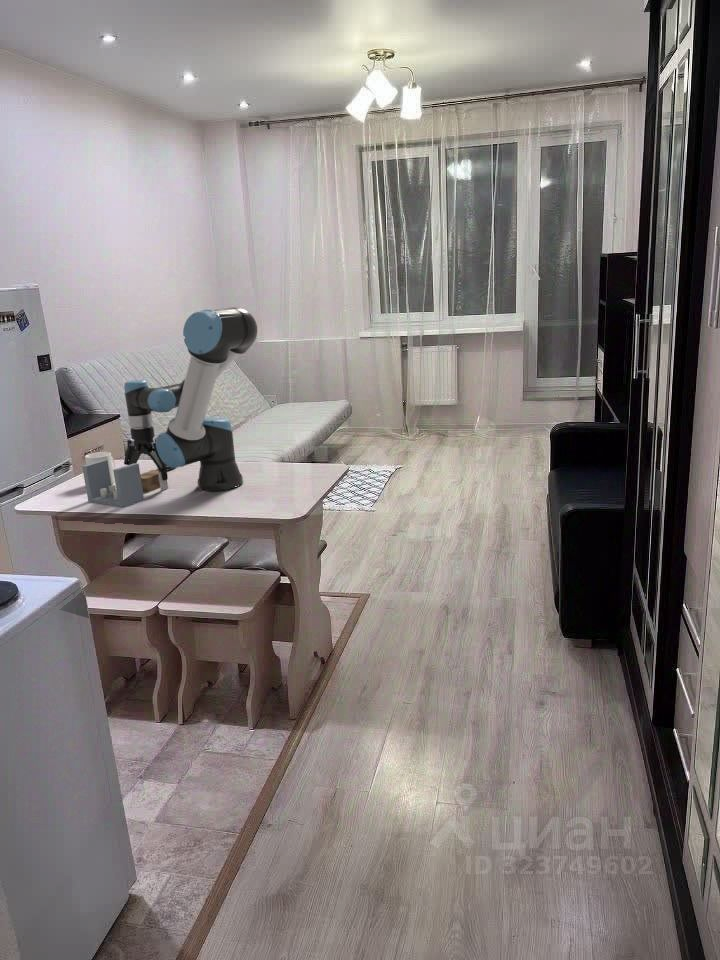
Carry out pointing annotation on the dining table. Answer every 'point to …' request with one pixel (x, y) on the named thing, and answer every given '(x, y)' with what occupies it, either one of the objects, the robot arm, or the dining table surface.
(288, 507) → the dining table surface
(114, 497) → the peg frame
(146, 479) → the brown wooden block
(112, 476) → the mug
